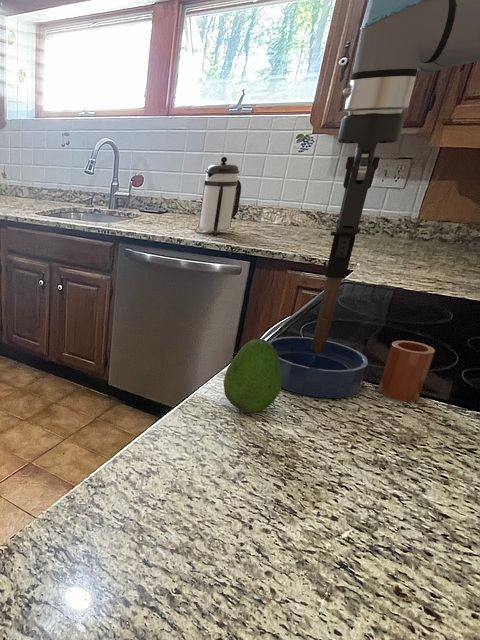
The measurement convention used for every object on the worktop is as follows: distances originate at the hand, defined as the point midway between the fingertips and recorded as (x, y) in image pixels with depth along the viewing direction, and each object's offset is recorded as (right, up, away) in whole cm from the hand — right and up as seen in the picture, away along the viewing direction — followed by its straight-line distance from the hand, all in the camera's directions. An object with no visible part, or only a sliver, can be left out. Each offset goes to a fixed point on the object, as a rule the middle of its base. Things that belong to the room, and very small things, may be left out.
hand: (335, 275), depth 84 cm
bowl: (0, -17, +8) cm, 19 cm away
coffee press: (+38, +40, +138) cm, 149 cm away
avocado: (-15, -22, -1) cm, 26 cm away
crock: (+11, -20, +2) cm, 23 cm away
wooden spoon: (0, -12, +5) cm, 13 cm away
